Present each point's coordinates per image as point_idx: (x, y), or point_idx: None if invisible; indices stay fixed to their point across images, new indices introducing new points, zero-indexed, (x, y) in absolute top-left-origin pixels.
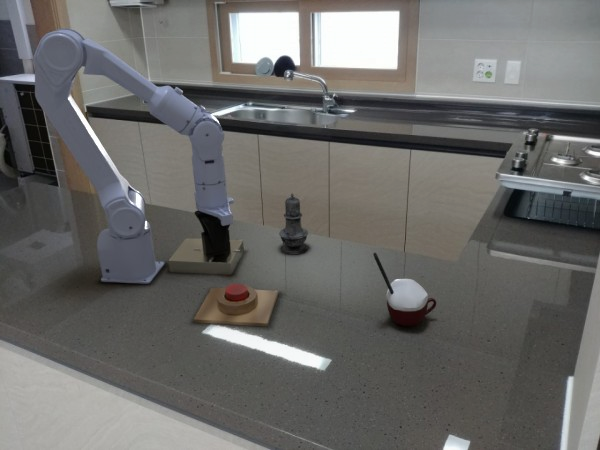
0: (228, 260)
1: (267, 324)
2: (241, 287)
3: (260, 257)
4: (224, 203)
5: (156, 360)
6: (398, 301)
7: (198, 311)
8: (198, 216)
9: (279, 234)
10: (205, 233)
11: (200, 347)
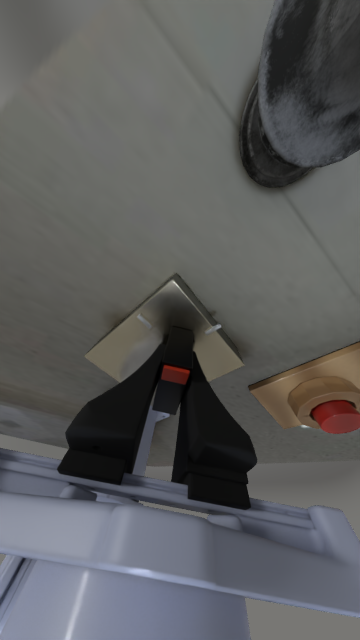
0: (233, 362)
1: None
2: (350, 420)
3: (232, 264)
4: (247, 623)
5: (291, 454)
6: None
7: (278, 421)
8: (131, 473)
9: (284, 155)
10: (164, 408)
11: (318, 437)
